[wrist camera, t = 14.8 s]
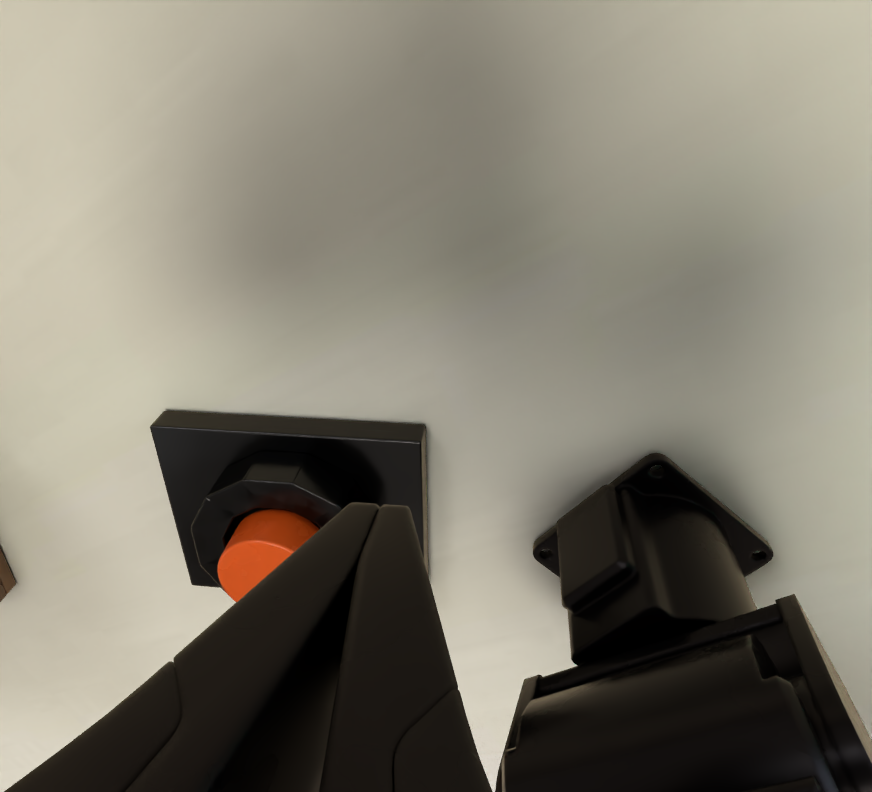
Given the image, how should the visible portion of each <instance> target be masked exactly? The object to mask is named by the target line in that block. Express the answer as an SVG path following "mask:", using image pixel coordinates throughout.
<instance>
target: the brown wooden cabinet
mask: <svg viewBox="0 0 872 792" xmlns="http://www.w3.org/2000/svg"><path fill="white" fill-rule="evenodd" d="M15 585H16V582H15V580H14V577H13V575H12V573H11V571H10V569H9V566H8V564H7V562H6V560H5V557H4V555H3V553H2V551H1V548H0V602H1V601H2V600H3V599H4V597H5V596H6V594H7V593H9V591H10V590H11V589H12V588H13V587H14V586H15Z"/></svg>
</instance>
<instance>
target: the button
mask: <svg viewBox="0 0 872 792" xmlns="http://www.w3.org/2000/svg"><path fill="white" fill-rule="evenodd" d="M319 530H320V529H319V528H318V527H317V526H316V525H315V524H314V523H313V522H311V521H310V520H308V519H306V518H304V517H302V516H300V515H298V514H296V513H294V512H291V511H287V510H282V509H264V510H259V511H256V512H254V513H252V514H250V515H248V516H247V517H245V518H244V519H243V520H242V521H241V522H240V523H239V525H238V526H237V528H236V530H235V532H234V534H233V535H232V537H231V539H230V541H229V542H228V544H227V546H226V548H225V549H224V551H223V553H222V555H221V557H220V559H219V562H218V577H219V580H220V583H221V585H222V587H223V588H224V590H225V591H226V593H227V594H228V595H229V596H230V597H231V598H232V599H233V600H234V601H236V602H238V601H239V600H240V599H241V598H242V597H243V596H244V595H246V594H247V593H248V592H249V591H250V590H251V589H252V588H254V587H255V586H256V585H257V584H258V583H259V582H260V581H261V580H263V579H264V578H265V577H266V576H267V575H268V574H269V573H271V572H272V571H273V570H274V569H275V568H276V567H277V566H279V565H280V564H281V563H282V562H283V561H284V560H285V559H287V558H288V557H289V556H290V555H291V554H292V553H293V552H295V551H296V550H297V549H298V548H299V547H300V546H301V545H303V544H304V543H305V542H306V541H307V540H308V539H309V538H311V537H312V536H313V535H314V534H315V533H316V532H317V531H319Z"/></svg>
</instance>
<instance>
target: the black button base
mask: <svg viewBox="0 0 872 792" xmlns="http://www.w3.org/2000/svg"><path fill="white" fill-rule="evenodd" d="M150 429H151V432H152V436H153V440H154V444H155V447H156V451H157V455H158V459H159V463H160V466H161V470H162V474H163V478H164V481H165V485H166V489H167V493H168V497H169V500H170V504H171V508H172V512H173V515H174V519H175V523H176V527H177V530H178V534H179V538H180V542H181V546H182V549H183V553H184V557H185V561H186V564H187V568H188V572H189V576H190V580H191V583H192V585H197V586H209V587H221V588H222V589H223V590H224V588H223V587H222V585H221V583H220V580H219V577H218V562H219V559H220V557H221V555H222V553H223V551H224V549H225V548H226V546H227V544H228V542H229V541H230V539H231V537H232V535H233V534H234V532H235V530H236V528H237V526H238V525H239V523H240V522H241V521H242V520H243V519H244V518H245V517H247V516H248V515H250V514H252V513H254V512H256V511H259V510H264V509H282V510H287V511H291V512H294V513H296V514H298V515H300V516H302V517H304V518H306V519H308V520H310V521H311V522H313V523H314V524H315V525H316V526H317V527H318V528H319V529H321V528H322V527H323V526H324V525H325V524H326V523H328V522H329V521H330V520H331V519H332V518H333V517H334V516H336V515H337V514H338V513H339V512H340V511H341V510H342V509H344V508H345V507H346V506H347V505H348V504H350V503H354V502H358V503H373V504H377V505H378V506H379V507H381V506H382V505H384V504H388V505H403V506H407V507H409V508H410V511H411V514H412V518H413V522H414V525H415V529H416V533H417V536H418V540H419V544H420V548H421V551H422V555H423V559H424V562H425V566H426V570H427V574H428V528H427V477H426V427H425V425H422V424H404V423H385V422H367V421H349V420H330V419H312V418H294V417H275V416H257V415H239V414H220V413H202V412H184V411H164V412H163V413H162V414H161V415H160V416H159V417H158V418H157V419H156V421H155V422H154V423H153V424H152V425H151V427H150ZM224 591H225V590H224ZM225 592H226V591H225Z"/></svg>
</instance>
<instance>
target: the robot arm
mask: <svg viewBox="0 0 872 792" xmlns="http://www.w3.org/2000/svg"><path fill="white" fill-rule="evenodd" d="M655 465H660V466H662V467H661V468H660V469H658V470H651V468H652V467H653V466H655ZM543 549H549V550H550V551H548V552H544V551H542V550H543ZM756 551H761V552H759V553H754V552H756ZM533 555H534V558H535V559H536V560H537V561H538V562H540V563H541V564H542V565H544V566H545V567H546V568H548V569H549V570H551V571H552V572H553V573H555V574H556V575H557V576H559V577H560V583H561V598H562V605H563V607H564V608H566V609H567V610H568V619H569V633H570V646H571V659H572V661H573V662H574V663H575V664H576V665H578V666H576V667H573V668H570V669H567V670H564V671H560V672H557V673H554V674H551V675H548V676H544V677H542V676H541V675H537V676H534V677H530V678H527V679H525V680H524V682H523V686H522V689H521V693H520V696H519V700H518V703H517V707H516V710H515V714H514V717H513V721H512V724H511V728H510V731H509V735H508V738H507V742H506V745H505V749H504V752H503V756H502V759H501V763H500V766H499V770H498V776H497V781H496V790H495V792H872V740H871V738H870V736H869V734H868V732H867V730H866V728H865V726H864V724H863V722H862V720H861V718H860V716H859V714H858V712H857V710H856V708H855V706H854V704H853V702H852V700H851V698H850V696H849V694H848V692H847V690H846V688H845V686H844V684H843V683H842V681H841V679H840V677H839V675H838V673H837V672H836V670H835V668H834V666H833V664H832V662H831V661H830V659H829V657H828V655H827V653H826V651H825V649H824V648H823V646H822V644H821V642H820V640H819V638H818V637H817V635H816V633H815V631H814V629H813V627H812V626H811V624H810V622H809V620H808V618H807V616H806V615H805V613H804V611H803V609H802V607H801V605H800V603H799V602H798V600H797V598H796V596H795V594H793V595H790V596H786V597H783V598H780V599H777V600H776V603H777V604H774V605H770V606H767V607H764V608H761V609H758V610H757V608H756V606H755V603H754V601H753V598H752V596H751V593H750V591H749V588H748V586H747V583H746V580H745V578H744V577H745V576H747V575H749V574H750V573H752V572H754V571H755V570H757V569H759V568H760V567H762V566H763V565H765V564H767V563H768V562H769V561H771V559H772V557H773V551H772V549H771V547H770V545H769V543H768V542H767V541H766V540H765V539H764V538H763V537H761V536H760V535H759V534H758V533H757V532H756V531H754V530H753V529H752V528H751V527H750V526H748V525H747V524H746V523H745V522H744V521H742V520H741V519H740V518H739V517H738V516H737V515H735V514H734V513H733V512H732V511H731V510H729V509H728V508H727V507H726V506H725V505H723V504H722V503H721V502H720V501H719V500H718V499H716V498H715V497H714V496H713V495H712V494H710V493H709V492H708V491H707V490H706V489H704V488H703V487H702V486H701V485H700V484H699V483H697V482H696V481H695V480H694V479H693V478H691V477H690V476H689V475H688V474H687V473H685V472H684V471H683V470H682V469H681V468H680V467H678V466H677V465H676V464H675V463H674V462H672V461H671V460H670V459H669V458H668V457H666V456H665V455H663V454H660V453H653V454H649V455H647V456H645V457H644V458H643V459H641V460H640V461H639V462H638V463H636V464H635V465H634V466H632V467H631V468H630V469H628V470H627V471H626V472H624V473H623V474H622V475H621V476H619V477H618V478H617V479H615V480H614V481H613V482H611V483H610V484H608V485H604V486H602V487H601V488H600V489H598V490H597V491H596V492H595V493H593V494H592V495H591V496H589V497H588V498H587V499H585V500H584V501H583V502H582V503H580V504H579V505H578V506H576V507H575V508H574V509H572V510H571V511H570V512H569V513H567V514H566V515H565V516H563V517H562V518H561V519H559V520H558V521H557V525H555V526H554V527H553V528H551V529H550V530H549V531H547V532H546V533H545V534H543V535H542V536H541V537H540V538H538V539H537V540H536V541H535V542H534V544H533ZM4 792H492V789H491V787H490V784H489V782H488V779H487V776H486V774H485V771H484V769H483V766H482V764H481V761H480V758H479V756H478V752H477V749H476V746H475V743H474V740H473V736H472V733H471V730H470V727H469V724H468V720H467V717H466V713H465V710H464V706H463V702H462V698H461V695H460V692H459V690H458V685H457V681H456V677H455V674H454V670H453V666H452V663H451V659H450V655H449V651H448V648H447V644H446V640H445V637H444V633H443V629H442V625H441V622H440V618H439V614H438V611H437V607H436V603H435V600H434V596H433V592H432V588H431V585H430V581H429V577H428V574H427V570H426V566H425V562H424V559H423V555H422V551H421V548H420V544H419V540H418V536H417V533H416V529H415V525H414V522H413V518H412V514H411V511H410V508H409V507H407V506H403V505H388V504H384V505H382V506H381V507H379V506H378V505H377V504H373V503H358V502H354V503H350V504H348V505H347V506H346V507H345V508H344V509H342V510H341V511H340V512H339V513H338V514H337V515H336V516H334V517H333V518H332V519H331V520H330V521H329V522H328V523H326V524H325V525H324V526H323V527H322V528H321V529H320V530H319V531H317V532H316V533H315V534H314V535H313V536H312V537H311V538H309V539H308V540H307V541H306V542H305V543H304V544H303V545H301V546H300V547H299V548H298V549H297V550H296V551H295V552H293V553H292V554H291V555H290V556H289V557H288V558H287V559H285V560H284V561H283V562H282V563H281V564H280V565H279V566H277V567H276V568H275V569H274V570H273V571H272V572H271V573H269V574H268V575H267V576H266V577H265V578H264V579H263V580H261V581H260V582H259V583H258V584H257V585H256V586H255V587H254V588H252V589H251V590H250V591H249V592H248V593H247V594H246V595H244V596H243V597H242V598H241V599H240V600H239V601H238V602H236V603H235V604H234V605H233V606H232V607H231V608H230V609H228V610H227V611H226V612H225V613H224V614H223V615H222V616H220V617H219V618H218V619H217V620H216V621H215V622H214V623H212V624H211V625H210V626H209V627H208V628H207V629H206V630H204V631H203V632H202V633H201V634H200V635H199V636H198V637H196V638H195V639H194V640H193V641H192V642H191V643H190V644H189V645H187V646H186V647H185V648H184V649H183V650H182V651H181V652H179V653H178V654H177V655H176V656H175V657H174V663H173V662H168V663H166V664H165V665H164V666H163V667H162V668H161V669H160V670H159V671H157V672H156V673H155V674H154V675H153V676H152V677H151V678H149V679H148V680H147V681H146V682H145V683H144V684H142V685H141V686H140V687H139V688H138V689H136V690H135V691H134V692H133V693H132V694H130V695H129V696H128V697H127V698H126V699H125V700H123V701H122V702H121V703H120V704H119V705H117V706H116V707H115V708H114V709H113V710H111V711H110V712H109V713H108V714H107V715H105V716H104V717H103V718H101V719H100V720H99V721H98V722H96V723H95V724H94V725H92V726H91V727H90V728H88V729H87V730H86V731H85V732H83V733H82V734H81V735H79V736H78V737H77V738H75V739H74V740H73V741H72V742H70V743H69V744H68V745H66V746H65V747H64V748H62V749H61V750H60V751H58V752H57V753H56V754H54V755H53V756H52V757H50V758H49V759H48V760H46V761H45V762H44V763H42V764H41V765H40V766H38V767H37V768H36V769H34V770H33V771H31V772H30V773H29V774H27V775H26V776H25V777H23V778H22V779H21V780H19V781H18V782H17V783H15V784H14V785H13V786H11V787H10V788H8V789H7V790H6V791H4Z"/></svg>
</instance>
